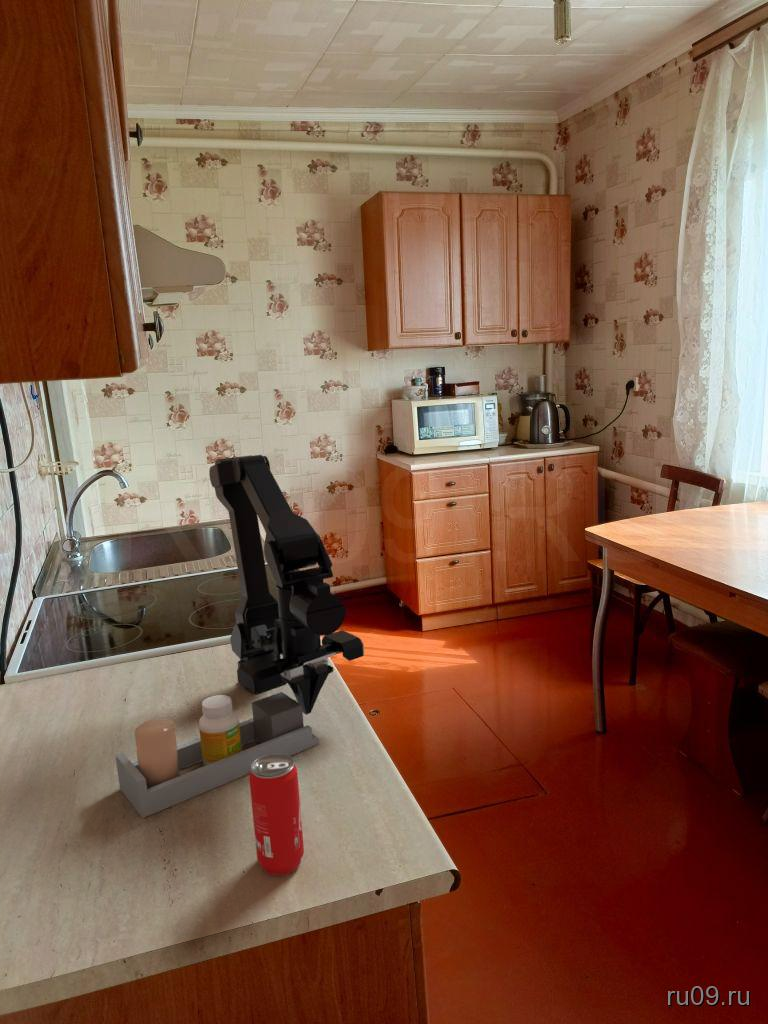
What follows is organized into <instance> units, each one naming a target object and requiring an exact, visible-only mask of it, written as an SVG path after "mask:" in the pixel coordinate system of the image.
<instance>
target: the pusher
mask: <svg viewBox="0 0 768 1024" xmlns="http://www.w3.org/2000/svg"><path fill="white" fill-rule="evenodd" d="M251 708H252V709H251V710H252V718H253V721H254V732H255V740H254V741H256V742H257V743H258V744H262V743H264V742H267V741H269V740H272V739H274V738H277V737H279V736H282V735H284V734H287V733H289V732H292V731H294V730H297V729H299V728H302V727H304V713H303V712H302V705H301V704H300V703H298V701H297V700H296V699H294V698H292V697H290V696H288V695H287V694H286V693H284V692H282V691H280V692H277V693H274V694H271V695H269V696H266V697H263V698H260V699H258V700H255V701H251Z"/></svg>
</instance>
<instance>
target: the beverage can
mask: <svg viewBox="0 0 768 1024" xmlns="http://www.w3.org/2000/svg"><path fill="white" fill-rule="evenodd" d="M298 776H299V775H298V768H297V765H296V763H295V761H294V759H293V758H292V756H288V755H285V754H269V755H265V756H263V757H260V758H258V759H257V760H255V761H254V762H253V763H252V765H251V771H250V773H249V774H248V781H249V790H250V801H251V812H252V821H253V829H254V831H253V832H254V841H255V849H256V858H257V862H258V864H260V866H261V869H262V871H264V873H265V874H268V875H269V876H277V877H279V875H281V876H286V875H288V874H291V873H292V872H295V870H297V869H298V868H299V867H300V865H301V863H302V858H303V856H304V853H305V848H304V847H305V845H304V837H303V833H304V832H303V825H302V824H303V822H302V812H301V811H302V810H301V809H302V808H301V798H300V790H299V789H300V788H299V777H298Z"/></svg>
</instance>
